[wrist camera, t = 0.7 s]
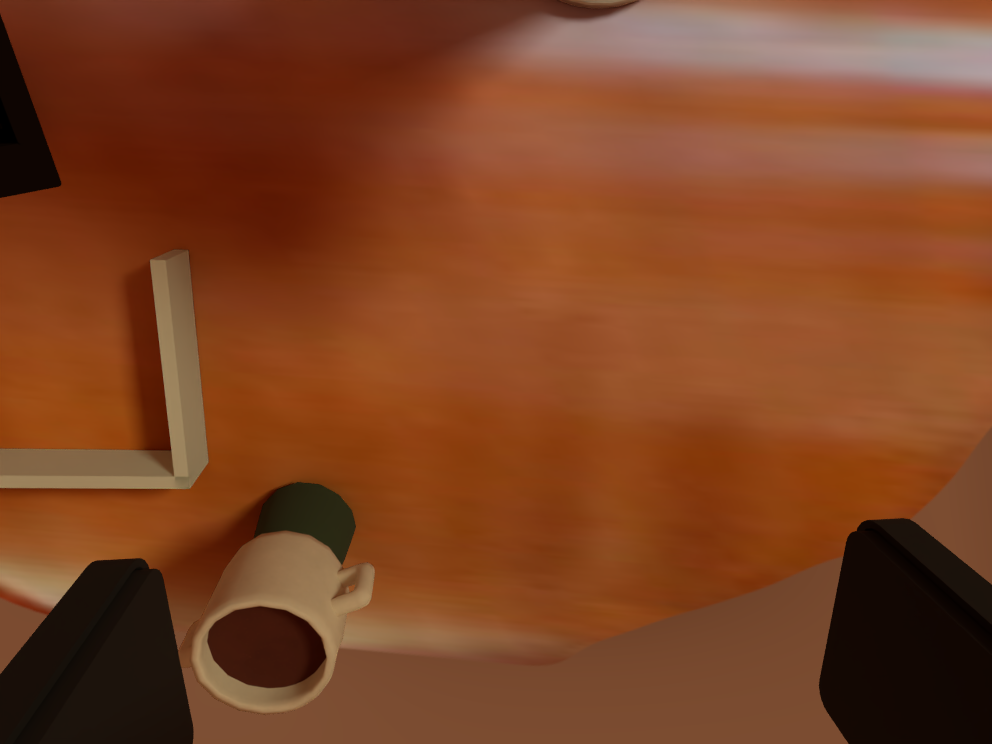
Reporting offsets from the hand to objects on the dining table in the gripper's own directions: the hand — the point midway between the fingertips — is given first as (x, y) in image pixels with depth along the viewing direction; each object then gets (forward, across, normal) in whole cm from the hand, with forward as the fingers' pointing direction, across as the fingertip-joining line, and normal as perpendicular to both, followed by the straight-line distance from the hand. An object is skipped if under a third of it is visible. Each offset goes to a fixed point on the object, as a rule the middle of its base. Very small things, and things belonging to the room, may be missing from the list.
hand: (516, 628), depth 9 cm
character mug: (+33, +10, +18) cm, 39 cm away
